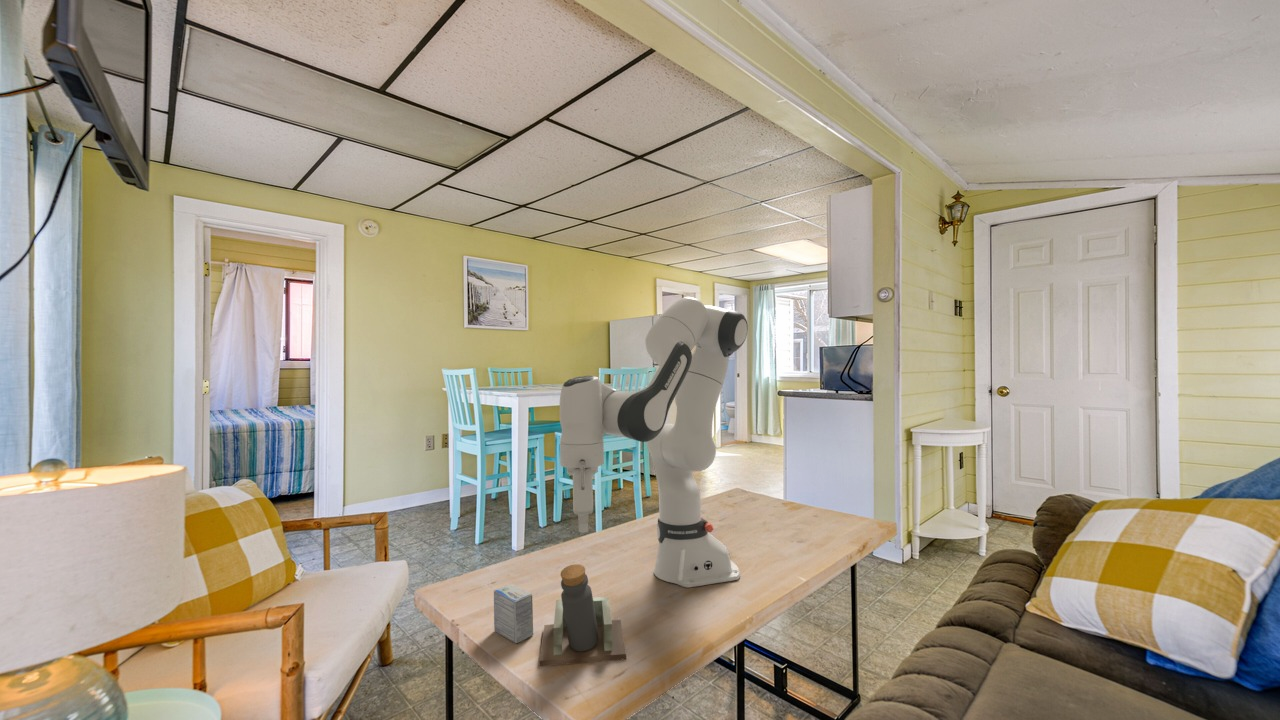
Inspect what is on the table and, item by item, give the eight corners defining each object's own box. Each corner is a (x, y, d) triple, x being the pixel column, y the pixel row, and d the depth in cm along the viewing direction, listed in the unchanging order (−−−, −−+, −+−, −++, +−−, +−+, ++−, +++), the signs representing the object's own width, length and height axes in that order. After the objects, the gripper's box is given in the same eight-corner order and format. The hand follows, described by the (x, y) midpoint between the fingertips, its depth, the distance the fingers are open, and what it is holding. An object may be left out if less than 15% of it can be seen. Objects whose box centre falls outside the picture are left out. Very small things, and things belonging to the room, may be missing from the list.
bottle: (594, 652, 95) (582, 580, 92) (564, 651, 96) (552, 580, 93) (602, 630, 100) (592, 562, 98) (574, 629, 102) (563, 562, 99)
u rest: (620, 624, 108) (620, 595, 108) (626, 659, 95) (625, 627, 95) (544, 629, 106) (544, 601, 106) (539, 666, 93) (539, 633, 93)
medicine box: (533, 635, 103) (533, 593, 103) (515, 645, 100) (515, 601, 100) (511, 623, 109) (511, 582, 109) (493, 631, 105) (493, 589, 105)
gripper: (599, 465, 93) (601, 540, 93) (596, 447, 113) (597, 509, 113) (564, 466, 92) (566, 542, 92) (567, 448, 112) (568, 510, 112)
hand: (583, 523), depth 103 cm, fingers open, 8 cm apart
